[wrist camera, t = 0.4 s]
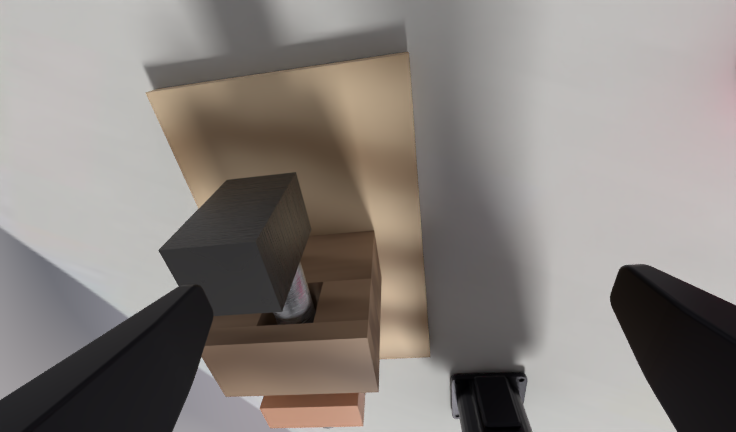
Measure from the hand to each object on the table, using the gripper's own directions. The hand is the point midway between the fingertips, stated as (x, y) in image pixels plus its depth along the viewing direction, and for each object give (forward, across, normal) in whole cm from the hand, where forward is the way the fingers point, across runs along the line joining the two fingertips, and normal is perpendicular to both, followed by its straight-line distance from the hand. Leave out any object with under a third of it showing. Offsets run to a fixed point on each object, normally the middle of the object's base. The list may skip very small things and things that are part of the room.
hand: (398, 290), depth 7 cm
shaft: (+8, +6, +8) cm, 13 cm away
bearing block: (+14, +6, +9) cm, 17 cm away
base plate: (+14, +6, +8) cm, 17 cm away
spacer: (+10, +6, +13) cm, 17 cm away
